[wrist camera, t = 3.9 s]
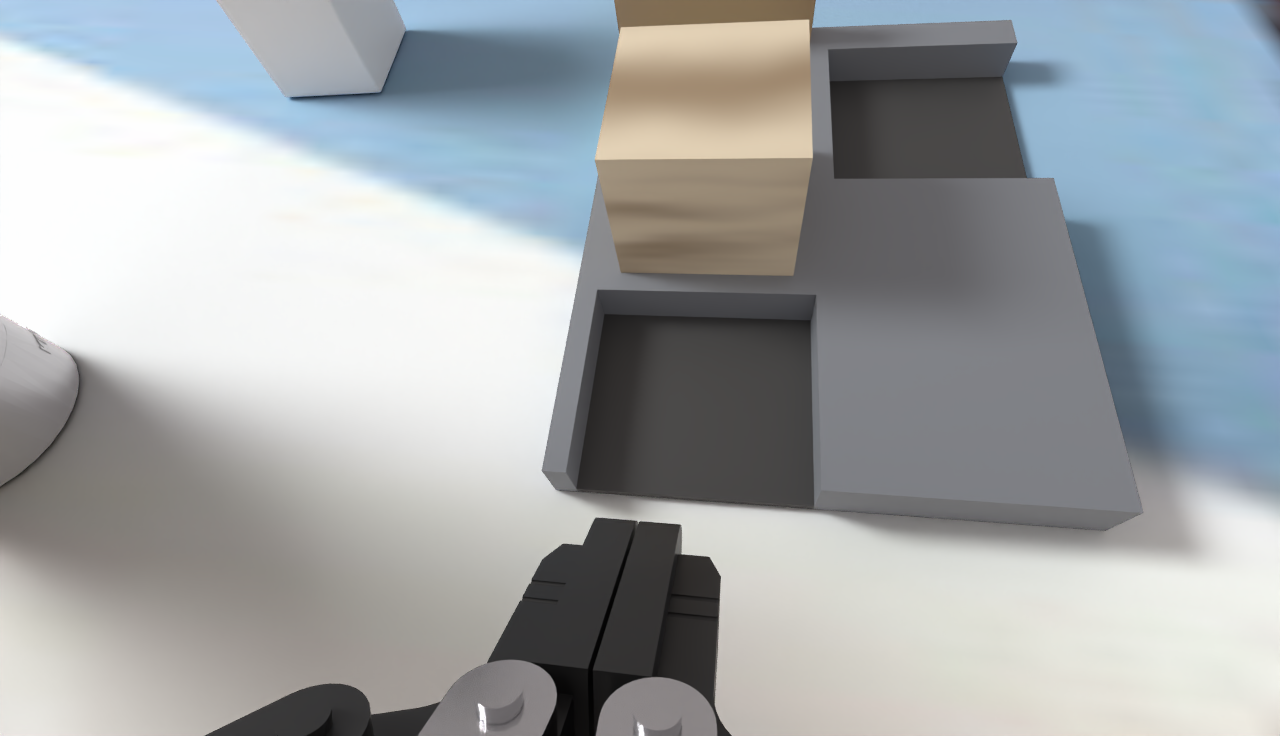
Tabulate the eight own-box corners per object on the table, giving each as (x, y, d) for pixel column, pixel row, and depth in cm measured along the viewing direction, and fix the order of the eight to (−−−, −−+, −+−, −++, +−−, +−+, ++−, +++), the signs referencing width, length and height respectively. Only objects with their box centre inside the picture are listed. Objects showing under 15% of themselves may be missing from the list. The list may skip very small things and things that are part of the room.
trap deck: (1105, 530, 24) (1222, 475, 19) (555, 489, 28) (513, 432, 22) (994, 60, 37) (1043, -56, 32) (630, 71, 41) (615, -33, 35)
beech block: (793, 276, 29) (812, 157, 22) (620, 272, 30) (594, 159, 24) (792, 150, 32) (809, 19, 26) (639, 151, 34) (621, 27, 27)
